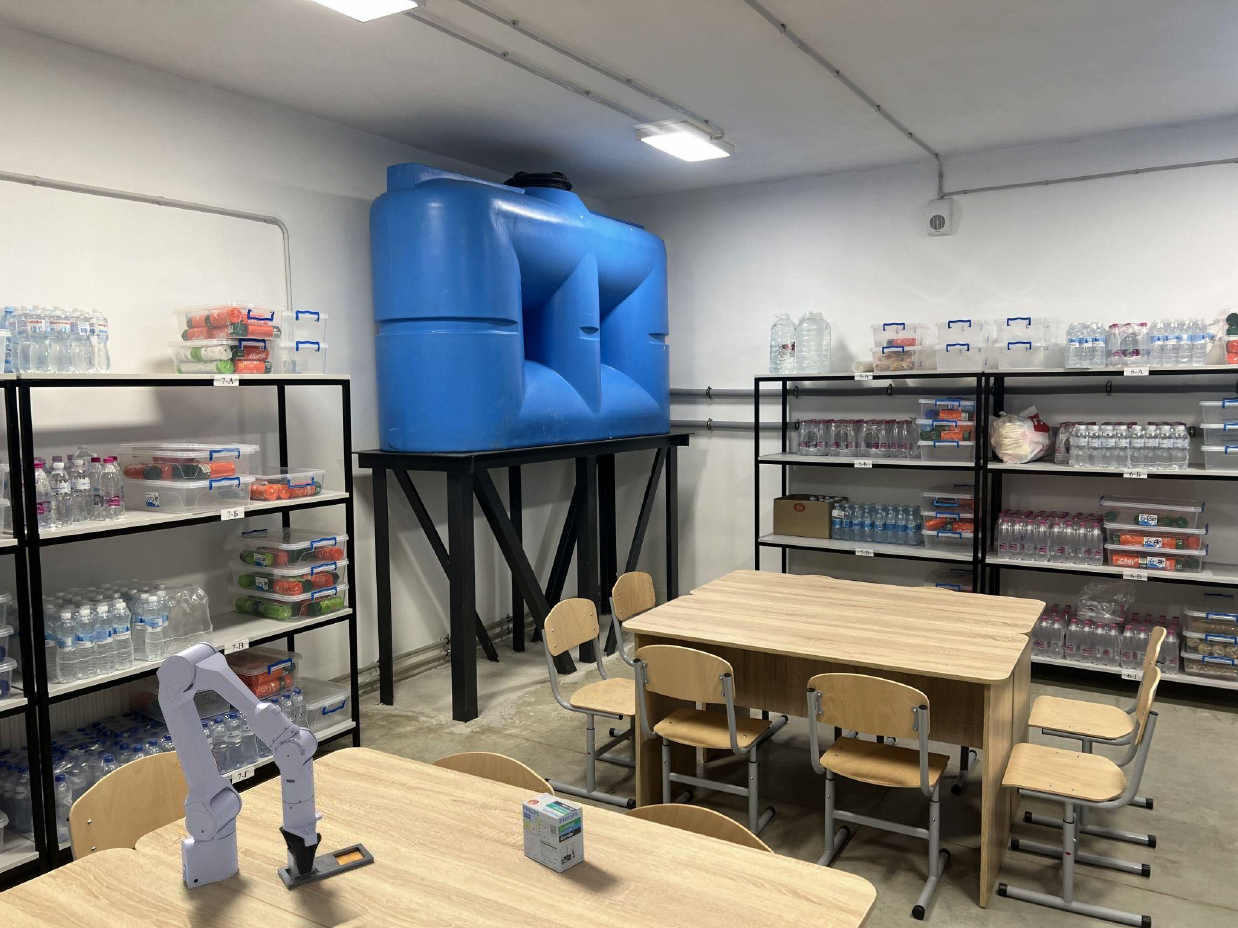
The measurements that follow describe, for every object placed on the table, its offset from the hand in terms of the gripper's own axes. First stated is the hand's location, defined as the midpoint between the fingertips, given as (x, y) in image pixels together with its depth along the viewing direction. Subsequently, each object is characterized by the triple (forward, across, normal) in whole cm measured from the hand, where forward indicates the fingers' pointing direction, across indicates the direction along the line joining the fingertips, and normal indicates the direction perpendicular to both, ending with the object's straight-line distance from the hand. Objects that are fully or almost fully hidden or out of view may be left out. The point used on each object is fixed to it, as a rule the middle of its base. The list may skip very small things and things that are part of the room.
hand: (301, 867), depth 168 cm
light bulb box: (+3, -22, -42) cm, 47 cm away
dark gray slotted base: (+2, 0, -4) cm, 5 cm away
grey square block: (+1, 0, 0) cm, 1 cm away
